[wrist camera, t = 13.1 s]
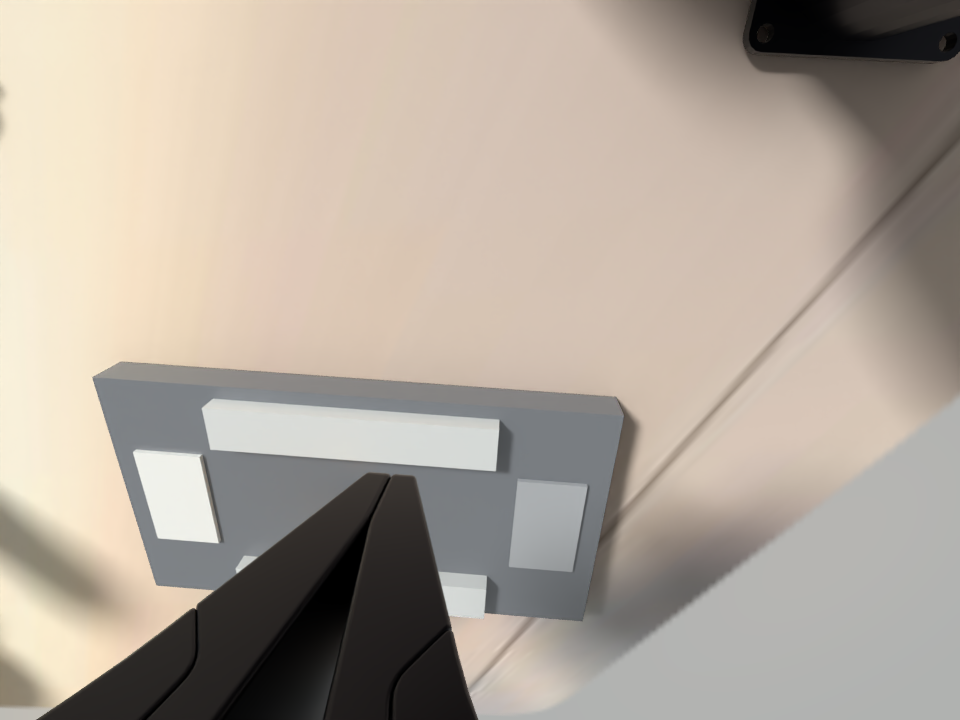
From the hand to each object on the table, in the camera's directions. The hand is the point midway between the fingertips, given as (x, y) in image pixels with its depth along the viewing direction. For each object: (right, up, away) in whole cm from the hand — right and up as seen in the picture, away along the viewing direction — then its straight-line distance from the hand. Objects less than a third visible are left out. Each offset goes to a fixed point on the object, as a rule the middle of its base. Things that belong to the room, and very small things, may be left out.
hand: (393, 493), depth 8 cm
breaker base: (-4, -4, +15) cm, 16 cm away
